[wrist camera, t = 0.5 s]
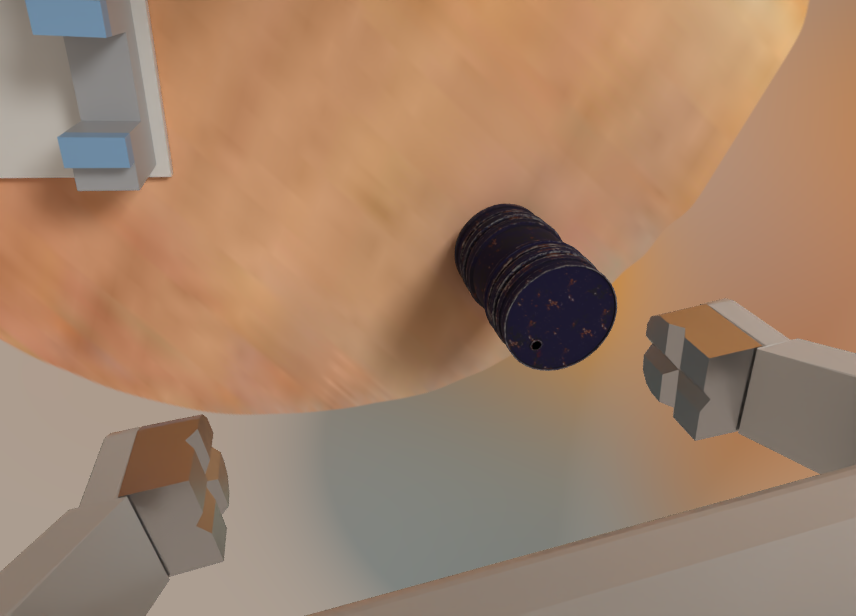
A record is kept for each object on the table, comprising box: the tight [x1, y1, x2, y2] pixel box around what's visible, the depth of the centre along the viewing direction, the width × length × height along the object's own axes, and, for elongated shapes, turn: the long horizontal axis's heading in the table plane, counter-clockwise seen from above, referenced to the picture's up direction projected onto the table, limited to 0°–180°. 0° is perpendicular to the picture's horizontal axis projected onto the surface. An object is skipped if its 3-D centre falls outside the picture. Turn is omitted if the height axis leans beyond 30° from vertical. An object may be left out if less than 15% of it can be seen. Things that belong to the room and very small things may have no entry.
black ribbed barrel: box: [455, 204, 617, 371], centre depth 54 cm, size 10×10×15 cm
